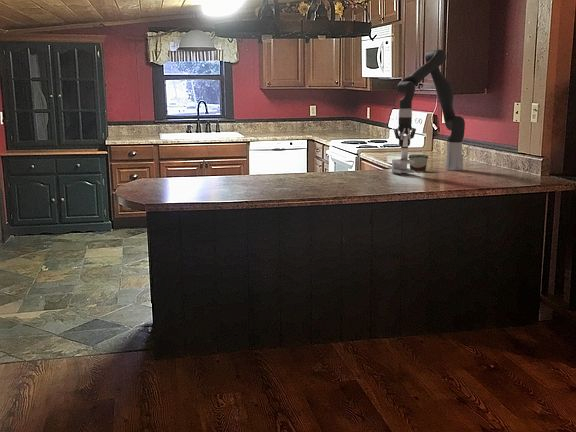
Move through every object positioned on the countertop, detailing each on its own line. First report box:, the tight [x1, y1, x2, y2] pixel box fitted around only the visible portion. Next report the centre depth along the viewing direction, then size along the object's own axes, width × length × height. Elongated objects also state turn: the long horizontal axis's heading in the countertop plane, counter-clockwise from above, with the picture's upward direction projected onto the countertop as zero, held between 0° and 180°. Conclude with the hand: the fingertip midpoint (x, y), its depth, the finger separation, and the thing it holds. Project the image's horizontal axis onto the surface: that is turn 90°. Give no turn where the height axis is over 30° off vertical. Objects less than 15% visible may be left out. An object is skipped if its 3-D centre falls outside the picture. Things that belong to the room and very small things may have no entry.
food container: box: [408, 153, 430, 172], centre depth 400 cm, size 12×6×10 cm, turn 84°
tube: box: [400, 135, 409, 161], centre depth 380 cm, size 4×4×16 cm
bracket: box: [390, 158, 415, 175], centre depth 384 cm, size 9×13×8 cm
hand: (404, 145), depth 380 cm, fingers closed on tube, 4 cm apart
